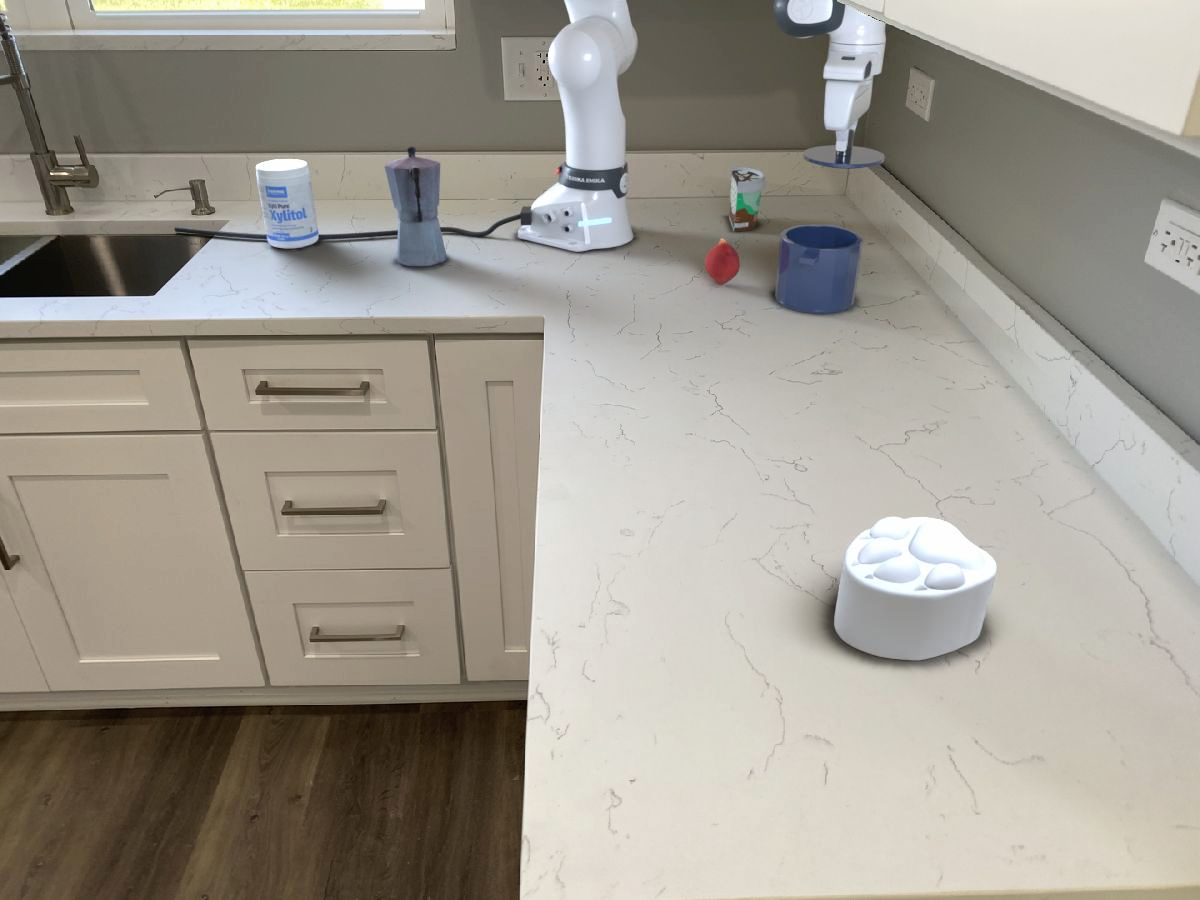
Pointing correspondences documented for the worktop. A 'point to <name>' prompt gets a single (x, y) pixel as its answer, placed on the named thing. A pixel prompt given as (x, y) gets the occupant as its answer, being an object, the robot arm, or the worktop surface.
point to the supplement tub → (287, 203)
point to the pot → (818, 268)
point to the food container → (745, 197)
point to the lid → (844, 156)
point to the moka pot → (416, 209)
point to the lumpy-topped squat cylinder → (913, 589)
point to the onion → (722, 262)
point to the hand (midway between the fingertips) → (844, 147)
